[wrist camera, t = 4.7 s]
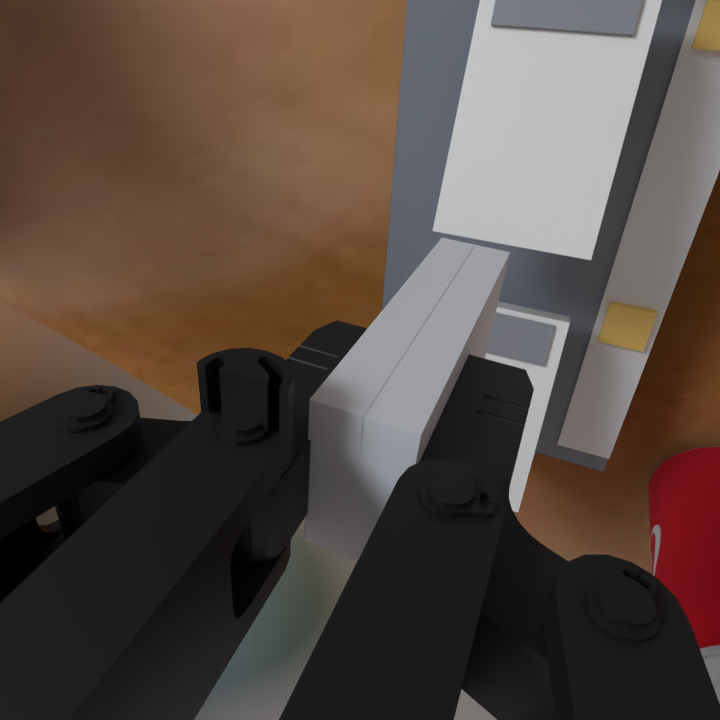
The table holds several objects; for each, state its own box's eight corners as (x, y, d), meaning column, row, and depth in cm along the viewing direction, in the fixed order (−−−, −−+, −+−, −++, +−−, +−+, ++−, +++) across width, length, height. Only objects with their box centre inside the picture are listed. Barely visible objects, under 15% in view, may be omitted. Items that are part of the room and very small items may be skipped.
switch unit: (397, 370, 35) (358, 430, 30) (490, -507, 17) (433, -715, 12) (606, 424, 31) (601, 503, 26) (979, -604, 14) (1175, -948, 9)
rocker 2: (413, 459, 27) (401, 476, 25) (449, 290, 25) (439, 295, 23) (522, 493, 25) (517, 514, 23) (569, 316, 23) (569, 323, 21)
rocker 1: (444, 233, 21) (431, 230, 19) (496, -13, 19) (487, -45, 17) (588, 260, 19) (591, 260, 17) (660, -4, 17) (672, -38, 15)
